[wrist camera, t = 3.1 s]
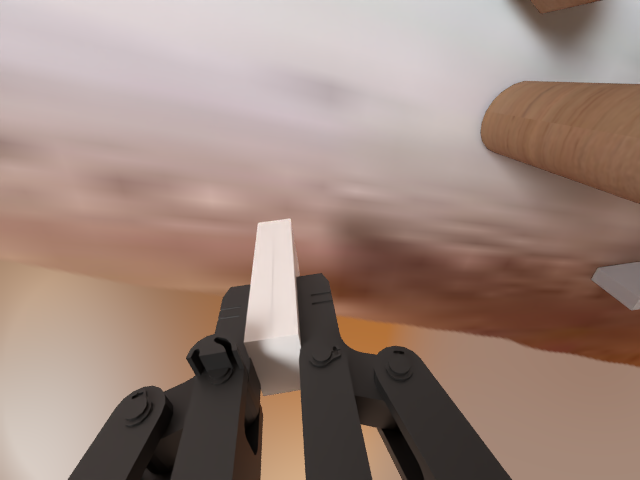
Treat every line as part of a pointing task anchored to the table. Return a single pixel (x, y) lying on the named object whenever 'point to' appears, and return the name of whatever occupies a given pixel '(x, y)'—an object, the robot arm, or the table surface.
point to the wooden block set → (570, 127)
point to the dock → (621, 283)
